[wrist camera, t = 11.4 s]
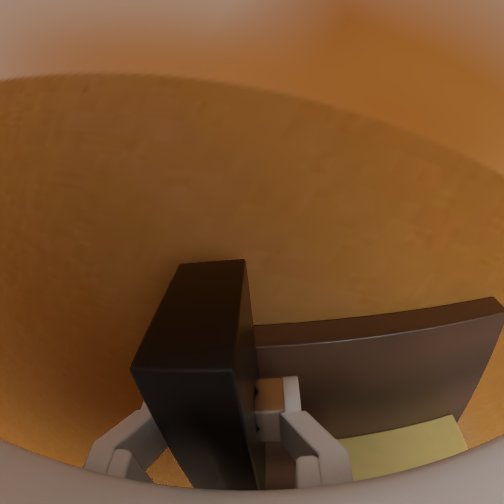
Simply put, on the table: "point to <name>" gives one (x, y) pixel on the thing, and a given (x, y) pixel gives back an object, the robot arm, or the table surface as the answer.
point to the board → (378, 369)
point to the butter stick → (403, 447)
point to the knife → (205, 376)
